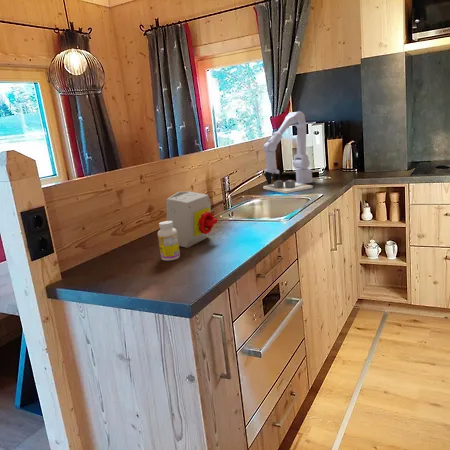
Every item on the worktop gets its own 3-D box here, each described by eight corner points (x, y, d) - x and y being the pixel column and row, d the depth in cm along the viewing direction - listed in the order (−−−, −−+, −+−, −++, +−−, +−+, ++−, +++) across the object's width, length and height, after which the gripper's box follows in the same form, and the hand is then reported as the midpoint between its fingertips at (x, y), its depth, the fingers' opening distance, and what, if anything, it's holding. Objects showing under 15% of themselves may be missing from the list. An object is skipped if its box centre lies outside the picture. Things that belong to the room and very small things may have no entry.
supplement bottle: (161, 256, 153) (156, 221, 150) (180, 254, 153) (175, 219, 150) (160, 262, 146) (155, 225, 143) (180, 259, 147) (175, 223, 144)
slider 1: (280, 186, 259) (279, 179, 258) (283, 186, 256) (283, 180, 255) (273, 187, 258) (273, 180, 257) (277, 187, 254) (276, 181, 253)
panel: (287, 184, 275) (287, 181, 274) (312, 188, 252) (312, 185, 251) (263, 188, 268) (263, 186, 267) (286, 193, 245) (286, 190, 244)
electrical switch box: (199, 255, 157) (199, 201, 151) (167, 246, 164) (166, 195, 158) (220, 243, 169) (221, 193, 163) (190, 235, 176) (189, 188, 170)
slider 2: (290, 186, 256) (290, 179, 255) (295, 186, 252) (294, 180, 251) (285, 187, 254) (284, 180, 253) (289, 187, 250) (288, 181, 249)
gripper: (259, 162, 264) (261, 184, 268) (271, 163, 251) (273, 186, 255) (269, 161, 267) (270, 182, 270) (281, 162, 254) (283, 184, 257)
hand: (272, 184), depth 263 cm, fingers open, 7 cm apart
